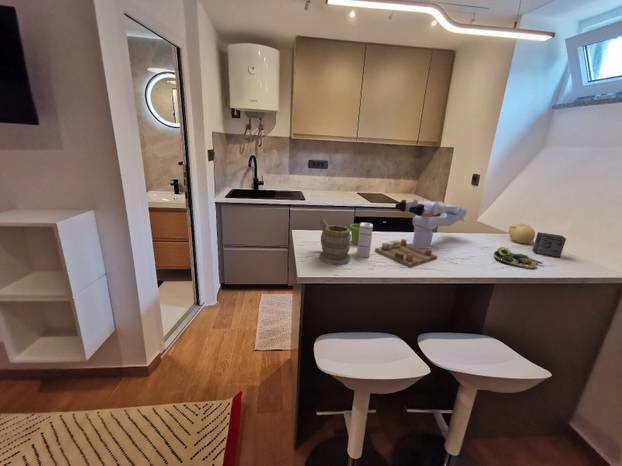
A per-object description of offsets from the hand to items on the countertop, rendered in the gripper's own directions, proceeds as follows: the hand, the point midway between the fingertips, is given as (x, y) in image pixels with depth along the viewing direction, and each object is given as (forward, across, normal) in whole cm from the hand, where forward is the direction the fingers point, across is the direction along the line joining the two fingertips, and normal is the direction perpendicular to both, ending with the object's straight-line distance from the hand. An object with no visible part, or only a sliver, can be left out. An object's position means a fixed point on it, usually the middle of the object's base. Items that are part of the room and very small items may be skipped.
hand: (402, 207), depth 132 cm
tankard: (+30, -11, +25) cm, 40 cm away
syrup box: (+15, -5, +23) cm, 28 cm away
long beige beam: (0, -2, +20) cm, 20 cm away
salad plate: (-46, +34, +18) cm, 60 cm away
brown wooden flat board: (-3, +5, +22) cm, 22 cm away
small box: (-73, +39, +16) cm, 84 cm away
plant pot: (+6, -18, +23) cm, 30 cm away
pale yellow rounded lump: (-82, +23, +15) cm, 87 cm away
